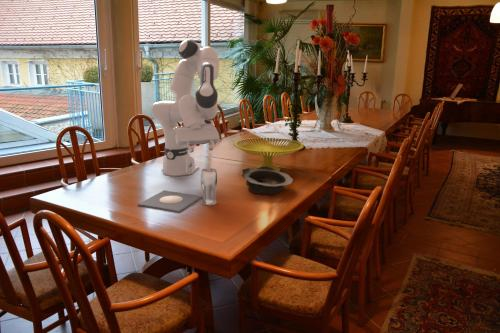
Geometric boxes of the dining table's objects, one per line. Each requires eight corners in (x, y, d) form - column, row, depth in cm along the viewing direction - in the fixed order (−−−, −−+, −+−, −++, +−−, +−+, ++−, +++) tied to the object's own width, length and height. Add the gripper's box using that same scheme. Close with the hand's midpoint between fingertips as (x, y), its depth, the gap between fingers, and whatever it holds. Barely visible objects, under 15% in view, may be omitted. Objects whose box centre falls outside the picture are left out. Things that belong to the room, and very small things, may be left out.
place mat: (164, 191, 186) (164, 189, 186) (202, 197, 179) (202, 195, 179) (138, 205, 168) (138, 203, 168) (179, 212, 161) (179, 210, 161)
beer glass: (219, 201, 175) (219, 168, 171) (213, 206, 169) (213, 172, 165) (204, 199, 177) (204, 167, 173) (198, 204, 170) (198, 171, 166)
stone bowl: (238, 181, 203) (240, 164, 201) (286, 185, 205) (288, 168, 203) (241, 197, 179) (242, 177, 177) (295, 200, 181) (297, 181, 179)
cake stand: (222, 175, 215) (222, 148, 211) (245, 158, 252) (245, 135, 248) (295, 183, 203) (297, 154, 199) (308, 164, 241) (309, 140, 237)
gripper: (173, 122, 177) (181, 148, 171) (215, 120, 187) (224, 145, 181) (170, 131, 182) (178, 156, 176) (212, 128, 192) (220, 152, 186)
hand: (201, 150), depth 179 cm, fingers open, 8 cm apart
